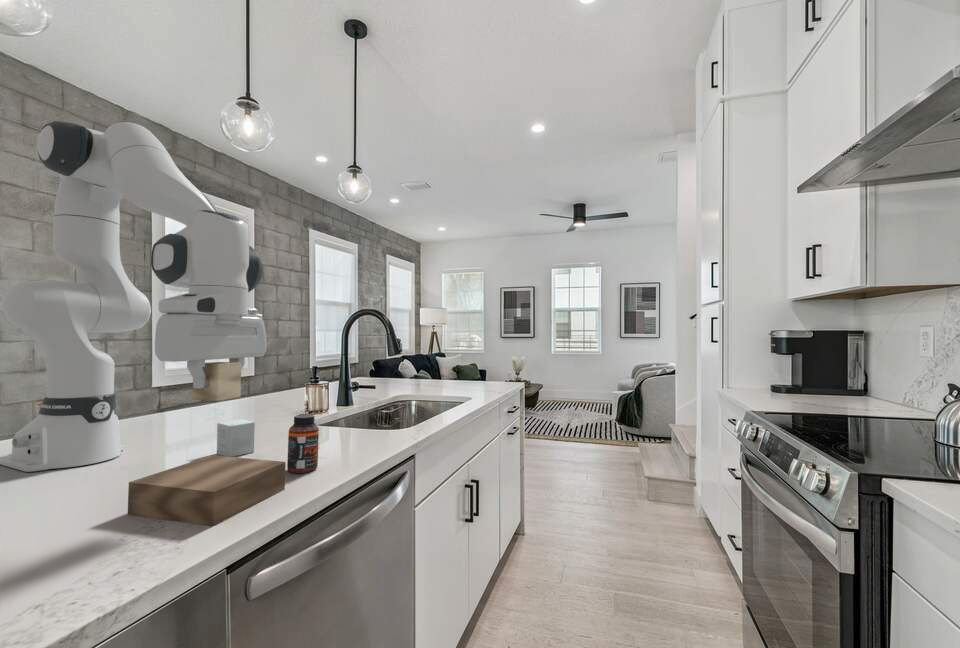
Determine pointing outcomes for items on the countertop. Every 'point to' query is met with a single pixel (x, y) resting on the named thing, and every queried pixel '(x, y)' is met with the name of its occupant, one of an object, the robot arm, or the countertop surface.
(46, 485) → the countertop surface
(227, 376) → the maple block
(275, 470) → the walnut base
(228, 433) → the product box
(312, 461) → the supplement bottle
